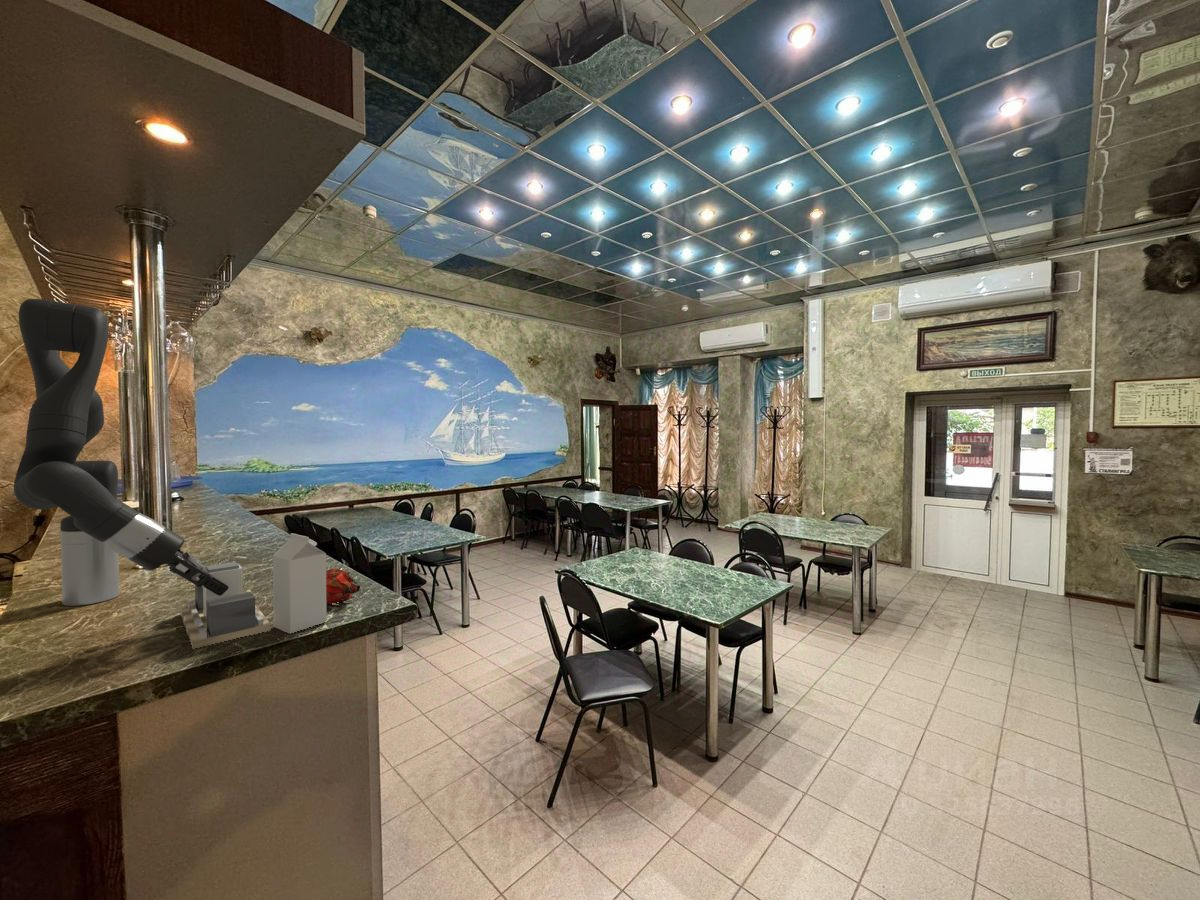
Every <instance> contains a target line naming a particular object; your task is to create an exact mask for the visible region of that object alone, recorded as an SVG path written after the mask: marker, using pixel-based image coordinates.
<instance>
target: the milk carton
mask: <svg viewBox="0 0 1200 900" xmlns="http://www.w3.org/2000/svg"><path fill="white" fill-rule="evenodd" d="M317 545H318V543H317V542H316V541H314V540H313V539H311V538H309V536H306V535H300V534H297V533H291V532H290V538H289V539H288V540H287V541H286V542H285V543H284V544H283V545H282V546H281V547H280V548H279V549H278V550H277V551H276V552H275V553H274V554H273V555H272V585H273V586H272V595H273V596H272V597H273V599H272V600H273V608H272V609H273V628H276V629H278V630H280V631H282V632H285V633H286V632H287V633H286V634H289V633H290V634H289V635H292V634H291V633H293V634H295V633H294V632H296V633H298V632H297V631H299V632H301V631H300V630H302V631H304V630H303V629H305V630H307V629H306V628H308V629H310V628H309V627H311V628H313V627H312V626H314V625H317V624H319V623H322V622H325V621H326V622H327V602H326V571H327V553H326V552H325V551H323V550H322V549H320V548H318V547H316V546H317ZM314 627H315V626H314Z"/></svg>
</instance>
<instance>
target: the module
mask: <svg viewBox="0 0 1200 900" xmlns="http://www.w3.org/2000/svg"><path fill="white" fill-rule="evenodd" d="M205 566H206V570H205V571H206V572H207V573H209V574H212V576H213V577H214V578H216V579H218V580H219V581H221V582H223V583H224V584H226V585H227V586H228V587H229V588H228V590H227V591H225V592H224V593H223V594H222V595H221V596H219V595H217V594H215V593H213V592H212V591H210V590H208V589H206V588H205V587H203V614H204V618H205V620H206V623H207V616H206V600H207V599H212V598H217V597H223V596H228V595H233V594H239V593H244V589H243V588H244V587H243V585H244V584H243V581H244V580H243V567H242V566H241V565H240V563H237V561H232V562H231V561H230V562H226V563H219V564H218V563H217V564H212V565H205Z"/></svg>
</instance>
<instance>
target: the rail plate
mask: <svg viewBox="0 0 1200 900" xmlns="http://www.w3.org/2000/svg"><path fill="white" fill-rule="evenodd" d="M197 580H199V578H198V577H197ZM194 598H195V599H194V600H195V603H194V600H192V599H191V600H188V601H187V606H183V607H180V608H179V610H180V616H181V617H180V618H181V619H182V623H183V625H184V628H186V629H185V632H186V634H187V637H188V636H189V637H188V639H190V640H189V642H191V643H190V645H192V646H191V648H192V650H193V649H194V650H196V649H195V648H198V649H200V648H199V647H202V646H206V647H208V646H207V645H210V646H212V645H211V644H214V645H216V644H215V643H218V644H221V643H220V642H222V643H225V642H224V641H227V642H229V641H228V640H231V641H233V640H232V639H235V640H237V639H236V638H239V639H241V638H240V637H243V638H245V637H244V636H247V637H250V636H249V635H251V636H254V634H255V635H258V633H260V634H263V633H262V632H264V633H267V631H268V632H271V631H272V630H271V629H272V628H271V627H272V624H271V622H270V621H269V620H268V618H267V617H266V615H264V614H263V612H262V611H261V610H260V608H259V607H258V606H257V605H256V597H255V595H254V594H253V593H252V592H251V591H245V592H244V591H243V593H239V594H233V595H228V596H223V597H217V598H212V599H207V600H206V616H207V623H206V620H205V618H204V614H203V587H197V586H196V585H195V584H194ZM202 648H203V647H202Z"/></svg>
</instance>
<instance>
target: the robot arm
mask: <svg viewBox="0 0 1200 900" xmlns="http://www.w3.org/2000/svg"><path fill="white" fill-rule="evenodd" d="M18 309H19V310H18V324H19V330H20V333H21V337H22V342H23V345H24V348H25V351H26V353H27V357H28V361H29V364H30V367H31V371H32V375H33V379H34V388H35V395H36V397H35V398H36V399H35V401H34V402H33V403H32V405H31V407H30V410H29V414H28V422H27V429H26V435H25V437H26V438H25V447H24V450H23V453H22V456H21V458H20V461H19V464H18V467H17V471H16V474H15V478H14V481H13V482H14V483H13V491H14V496H15V498H16V499H17V501H18V502H19V503H20V504H22V505H23V506H25V507H26V508H30V509H33V510H42V511H43V510H51V509H55V508H59V509H61V510H62V511H64V512H65V513H66V514H68V516H65V517H63V518H62V519H61V520H60V525H59V526H60V527H59V528H60V553H61V554H60V555H61V557H60V558H61V596H62V597H61V599H62V600H61V601H62V603H61V604H62V605H63V606H67V607H69V606H70V607H77V606H85V605H92V604H96V603H101V602H105V601H109V600H112V599H114V598H117V597H118V596H120V587H119V586H120V580H119V579H120V575H119V574H120V568H119V555H121V557H124V558H125V559H127V560H129V561H131V562H133V563H134V564H136V565H138V566H140V567H142V568H143V569H145V570H147V571H151V572H152V571H155V570H157V569H159V568H160V567H161V566H163V565H164V564H166V565H168V566H169V567H168V569H169V572H171V573H172V574H174V575H176V576H179V577H181V578H182V579H184V581H187V582H189V583H192V584H194V586H195V585H196V586H197V587H205V588H206V589H208V590H210V591H212V592H213V593H215V594H217V595H219V596H221V595H222V594H223V593H224V592H225V591H227V590H228V588H229V587H228V586H227V585H226V584H224V583H223V582H221V581H219V580H218V579H216V578H214V577H213V576H212V574H209V573H207V572H206V571H205V570H206V566H207V565H206V564H203V563H202V561H201V560H200V559H198V558H196V557H195V556H194V555H193V554H191V553H190V552H188V551H186V552H184V551H183V550H182V549H181V548H182V547H183V545H184V544H185V542H186V541H185V538H183V537H182V536H181V535H180V534H177V533H176V532H174V531H172V530H171V529H169V528H168V527H166V526H165V525H163V524H161V523H160V522H158V521H157V520H155V519H153V518H151V517H150V516H148V515H146V514H143V513H141V512H139V511H137V510H136V509H135V508H133V507H131V506H129V505H128V504H126V503H124V502H123V501H121V500H120V499H118V490H119V488H118V487H119V485H118V484H119V471H118V466H117V464H116V463H115V462H114V461H112V460H77V458H78V456H79V455H80V454H81V452H82V451H83V450H84V447H85V446H86V445H88V444H89V442H91V441H93V439H94V438H95V437H96V436H97V435H98V434H99V433H100V432H101V430H102V429H103V427H104V425H105V416H104V415H105V414H104V403H103V400H102V397H101V395H100V394H99V393H98V392H97V390H95V389H96V385H97V383H98V380H99V376H100V372H101V369H102V366H103V362H104V358H105V354H106V351H107V346H108V341H109V322H108V318H107V316H106V313H104V312H103V310H101V309H99V308H96V307H92V306H89V305H88V306H87V305H81V304H75V303H68V302H63V301H62V302H61V301H55V300H49V299H42V298H41V299H40V298H27V299H25V300H24V301H22V302H21V304H20V306H19V308H18ZM58 352H67V353H74V354H75V353H77V354H79V356H78V358H77V360H76V362H75V363H74V364H73V366H72V367H71V368H70V367H69V366H68V365H67V364H66V363H65V362H64V360H63V359H62V358H61V356H60V354H59V353H58ZM197 578H199V580H197Z"/></svg>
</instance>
